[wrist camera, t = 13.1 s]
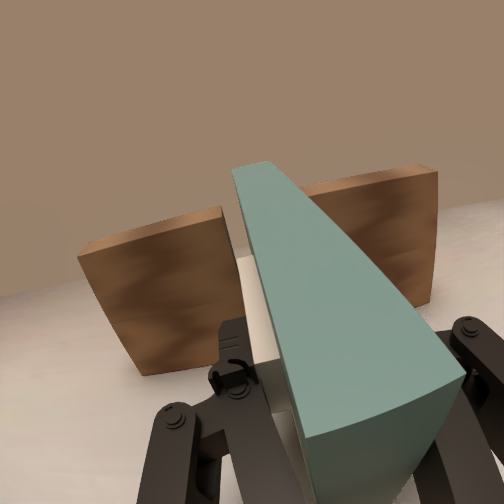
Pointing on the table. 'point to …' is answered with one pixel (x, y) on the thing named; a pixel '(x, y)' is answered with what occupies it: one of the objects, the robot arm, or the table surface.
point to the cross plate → (344, 347)
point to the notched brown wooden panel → (226, 271)
